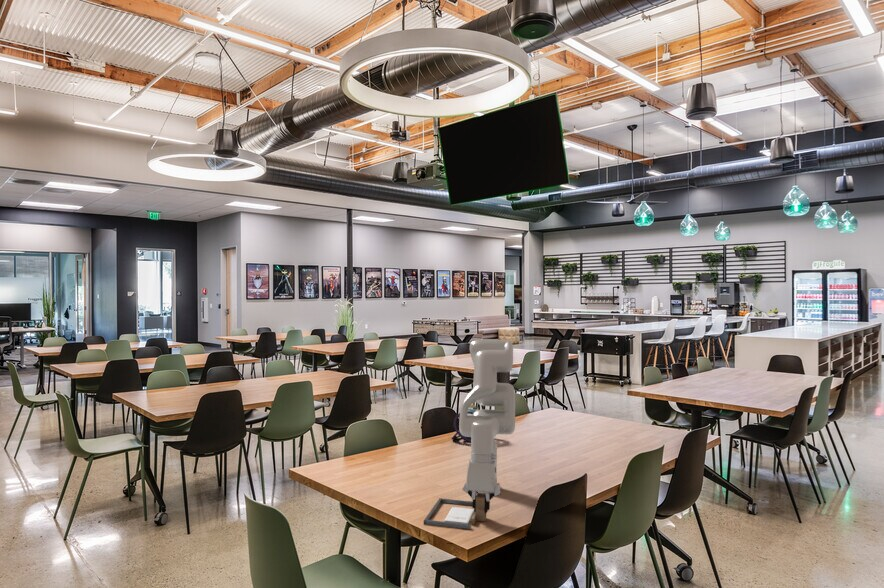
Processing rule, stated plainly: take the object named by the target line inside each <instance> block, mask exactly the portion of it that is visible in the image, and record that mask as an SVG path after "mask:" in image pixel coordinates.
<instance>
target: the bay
mask: <svg viewBox="0 0 884 588" xmlns="http://www.w3.org/2000/svg"><path fill="white" fill-rule="evenodd" d="M441 502H442V503H441ZM449 503H453V504H452V505H459V504H462V505H461V506H468V505H469V506H471V507H473V501H469V500H460V499H452V498H451V499H449V498H438V500H437V501H436V502H435V504H434V505H433V506H432V508H431V510H430V511H429V513H428V514H427V515H426V517H425V518H424V520H423V525H426V524H428V525H427V526H429V525H430V526H435V525H437V526H436V527H443V526H447V527H446V528H452V527H456V528H455V529H460V528H467V529H466V530H469V529H472V525H471V524H470V523H469V524H460V523H451V522H444V521H440V520H433V519H431V518H432V517H433V515H434V514H435V513H436V512H437V510H438V508H439V507H440V506H441V504H449ZM439 505H440V506H439Z"/></svg>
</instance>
